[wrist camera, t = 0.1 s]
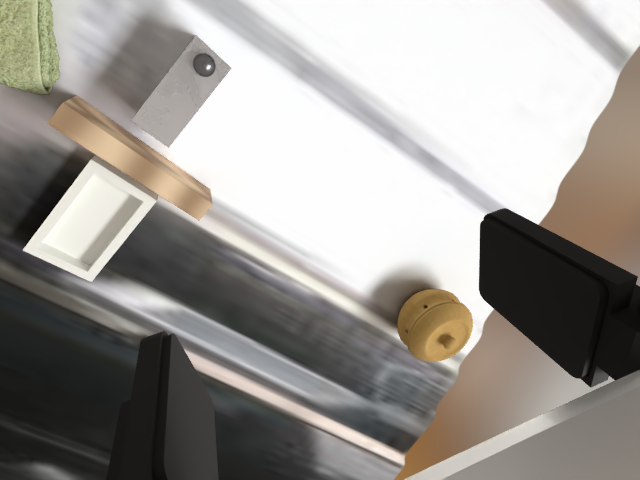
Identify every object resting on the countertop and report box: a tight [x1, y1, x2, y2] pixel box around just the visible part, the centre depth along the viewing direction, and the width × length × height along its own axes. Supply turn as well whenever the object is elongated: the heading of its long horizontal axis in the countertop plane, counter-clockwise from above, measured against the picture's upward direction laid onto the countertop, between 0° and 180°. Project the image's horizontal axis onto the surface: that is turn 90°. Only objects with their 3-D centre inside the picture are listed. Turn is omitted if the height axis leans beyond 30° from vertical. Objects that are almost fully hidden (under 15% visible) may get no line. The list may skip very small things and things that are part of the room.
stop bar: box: [131, 36, 231, 148], centre depth 38 cm, size 4×10×6 cm, turn 135°
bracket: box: [23, 155, 158, 282], centre depth 42 cm, size 8×13×2 cm, turn 136°
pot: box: [398, 289, 473, 362], centre depth 62 cm, size 12×12×10 cm
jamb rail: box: [47, 96, 212, 220], centre depth 40 cm, size 16×2×5 cm, turn 46°
